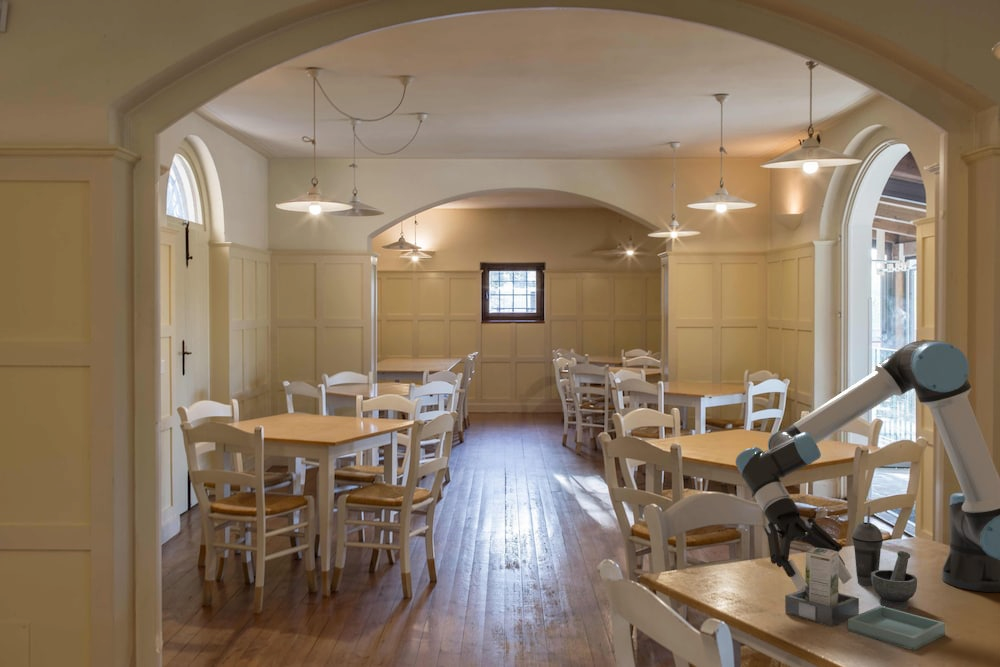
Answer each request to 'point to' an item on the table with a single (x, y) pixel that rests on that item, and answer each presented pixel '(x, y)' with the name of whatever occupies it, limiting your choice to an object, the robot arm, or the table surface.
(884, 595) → the mortar and pestle
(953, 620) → the table surface
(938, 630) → the tray
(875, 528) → the beverage cup
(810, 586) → the syrup box
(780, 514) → the robot arm
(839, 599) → the square open bin
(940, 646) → the table surface
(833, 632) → the table surface
